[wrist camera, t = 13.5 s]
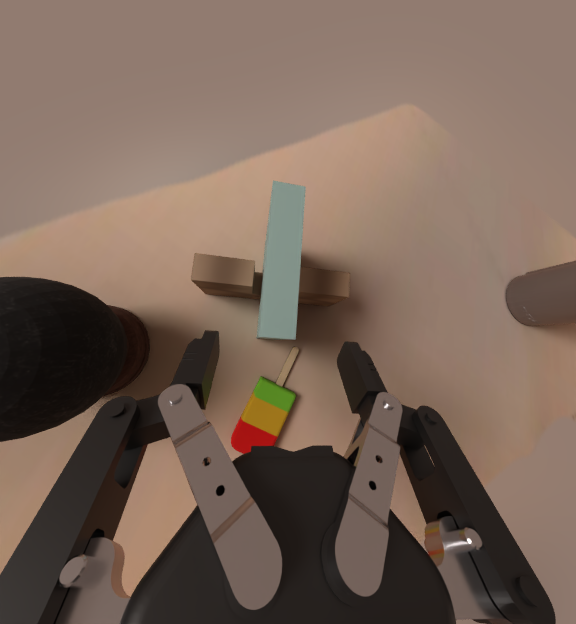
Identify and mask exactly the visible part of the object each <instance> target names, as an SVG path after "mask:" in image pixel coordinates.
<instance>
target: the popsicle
mask: <svg viewBox="0 0 576 624" xmlns="http://www.w3.org/2000/svg"><path fill="white" fill-rule="evenodd" d="M298 352H299V349H298V348H297V347H293V348H292V350H291V352H290V354H289V356H288V358H287V360H286V363H285V365H284V367H283V369H282V371H281V373H280V375H279V377H278V379H277V381H276V383H274V382H272V381H270V380H268V379H266V378H264V377H262V376H261V377H260V379H259V381H258V383H257V385H256V387H255V389H254V391H253V393H252V395H251V397H250V399H249V401H248V403H247V405H246V407H245V409H244V411H243V413H242V415H241V417H240V419H239V421H238V423H237V425H236V428H235V430H234V432H233V434H232V437H231V444H232V447H233V448H234V449H235V450H237V451H239V452H241V453H243V454H245V453H248V452H251V446H274V444H275V442H276V440H277V438H278V436H279V433H280V431H281V429H282V427H283V425H284V422H285V420H286V418H287V416H288V414H289V411H290V409H291V407H292V405H293V402H294V400H295V398H296V394H295V393H294V392H292V391H290V390H288V389H286V388H284V387H282V386H283V384H284V381H285V379H286V377H287V375H288V373H289V371H290V369H291V367H292V364H293V362H294V360H295V358H296V356H297V354H298Z"/></svg>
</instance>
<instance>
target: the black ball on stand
mask: <svg viewBox="0 0 576 624" xmlns="http://www.w3.org/2000/svg"><path fill="white" fill-rule="evenodd" d="M149 349H150V345H149V337H148V333H147V331H146V329H145V327H144V325H143V324H142V322H141V321H140V320H139V319H138V318H137V317H136V316H135V315H133V314H132V313H130V312H128V311H126V310H124V309H122V308H118V307H114V306H110V305H106V304H105V303H104V302H102V301H101V300H100V299H98V298H97V297H96V296H94V295H92V294H90V293H88V292H86V291H84V290H81V289H79V288H77V287H74V286H72V285H68V284H65V283H61V282H58V281H52V280H47V279H41V278H31V277H0V442H2V441H8V440H13V439H19V438H24V437H27V436H30V435H33V434H36V433H39V432H42V431H45V430H48V429H51V428H54V427H56V426H59V425H60V424H62V423H64V422H66V421H68V420H70V419H72V418H73V417H75V416H77V415H79V414H81V413H82V412H84V411H85V410H87V409H88V408H89V407H91V406H92V405H93V404H95V403H96V402H97V401H98V400H99V399H100V398H101V397H102V396H105V395H108V394H111V393H114V392H116V391H118V390H120V389H122V388H124V387H126V386H127V385H128V384H130V383H131V382H132V381H133V380H134V379H135V378H136V377H137V376H138V375H139V374H140V373H141V371H142V369H143V368H144V366H145V364H146V361H147V359H148V355H149Z"/></svg>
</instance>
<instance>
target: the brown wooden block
mask: <svg viewBox="0 0 576 624" xmlns="http://www.w3.org/2000/svg"><path fill="white" fill-rule="evenodd" d="M262 279H263V273H259V272H255V261H252V260H245V259H237V258H229V257H221V256H214V255H206V254H198V253H195V254H194V261H193V268H192V275H191V280H192V281H193V282H194V283H195V284H196V285H197V286H198V287H199V288H200V289H201V290H202V291H203V292H204V293H205V294H212V295H222V296H232V297H242V298H252V299H261V290H262ZM349 290H350V273H346V272H338V271H330V270H322V269H315V268H307V267H300V279H299V295H298V303H301V304H311V305H321V306H330V305H333V304H335V303H337V302H339V301H342V300H344V299H346V298H348V297H349Z"/></svg>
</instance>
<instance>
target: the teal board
mask: <svg viewBox="0 0 576 624" xmlns="http://www.w3.org/2000/svg"><path fill="white" fill-rule="evenodd" d="M304 203H305V187H304V186H299V185H294V184H288V183H283V182H278V181H273V186H272V194H271V202H270V210H269V218H268V226H267V234H266V242H265V252H264V263H263V279H262V290H261V301H260V307H259V318H258V328H257V338H261V339H275V340H296V325H297V310H298V295H299V279H300V264H301V249H302V233H303V218H304Z"/></svg>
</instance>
